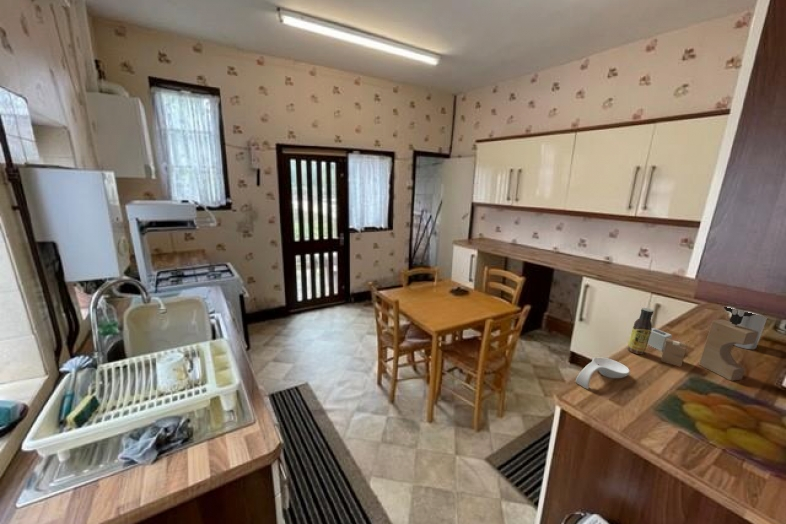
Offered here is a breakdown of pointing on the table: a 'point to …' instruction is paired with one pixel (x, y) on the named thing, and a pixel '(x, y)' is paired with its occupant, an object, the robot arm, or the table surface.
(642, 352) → the sauce bottle
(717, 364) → the decorative block
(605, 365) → the spoon rest
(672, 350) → the walnut marked block
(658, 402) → the table surface
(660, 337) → the grey marked block
